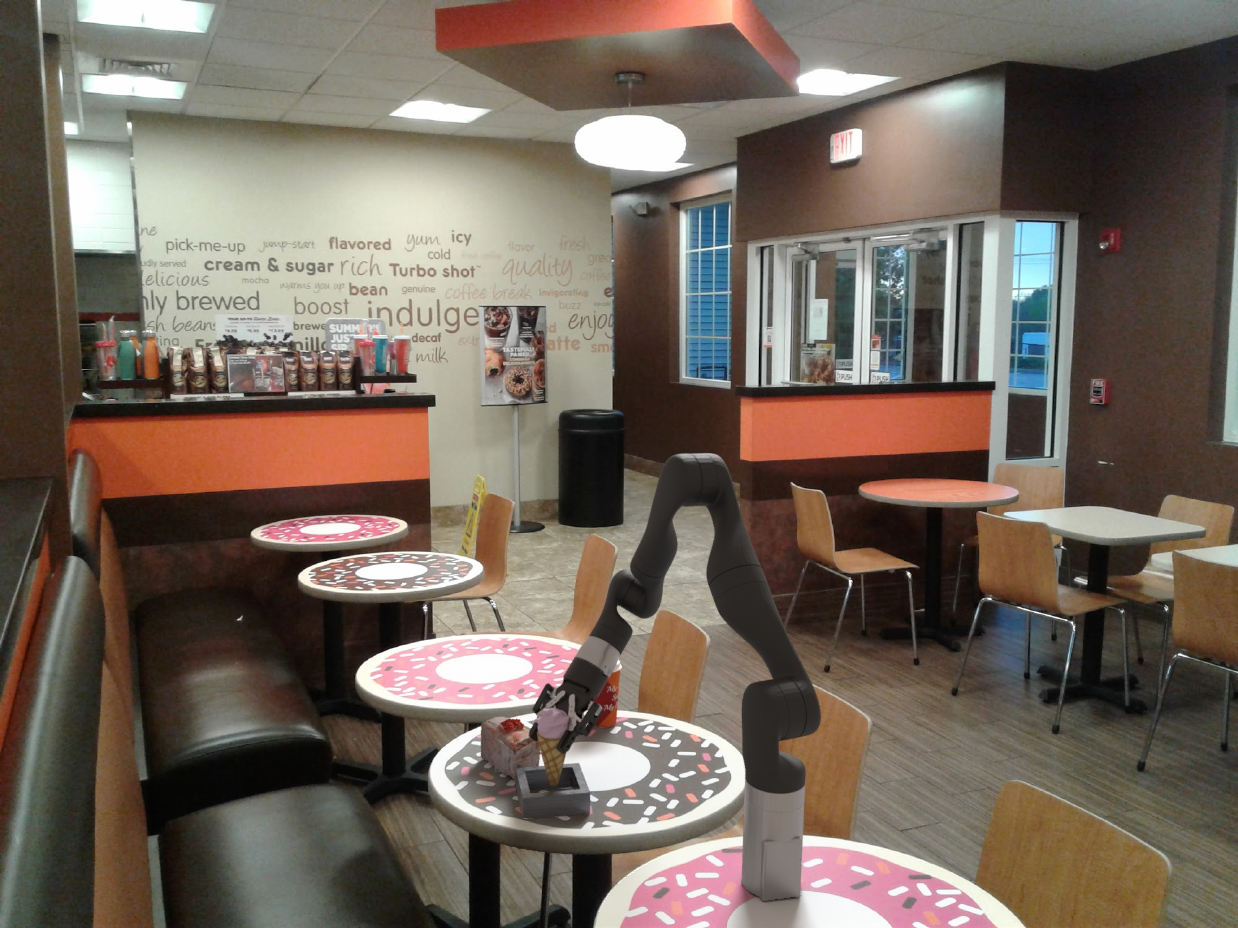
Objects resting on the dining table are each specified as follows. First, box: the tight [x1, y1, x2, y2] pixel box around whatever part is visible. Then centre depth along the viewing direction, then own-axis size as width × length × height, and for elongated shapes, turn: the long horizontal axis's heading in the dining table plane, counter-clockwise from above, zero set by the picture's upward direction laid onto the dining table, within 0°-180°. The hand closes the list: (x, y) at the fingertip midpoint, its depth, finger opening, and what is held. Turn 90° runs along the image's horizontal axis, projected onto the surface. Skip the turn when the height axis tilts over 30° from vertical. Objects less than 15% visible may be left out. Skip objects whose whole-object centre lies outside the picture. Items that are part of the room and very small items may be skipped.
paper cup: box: [594, 659, 623, 728], centre depth 216 cm, size 8×8×14 cm
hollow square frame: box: [515, 762, 591, 819], centre depth 182 cm, size 12×12×4 cm
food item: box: [480, 716, 541, 780], centre depth 194 cm, size 14×8×10 cm, turn 41°
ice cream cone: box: [532, 707, 569, 786], centre depth 181 cm, size 7×6×15 cm
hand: (546, 745), depth 179 cm, fingers closed on ice cream cone, 6 cm apart
